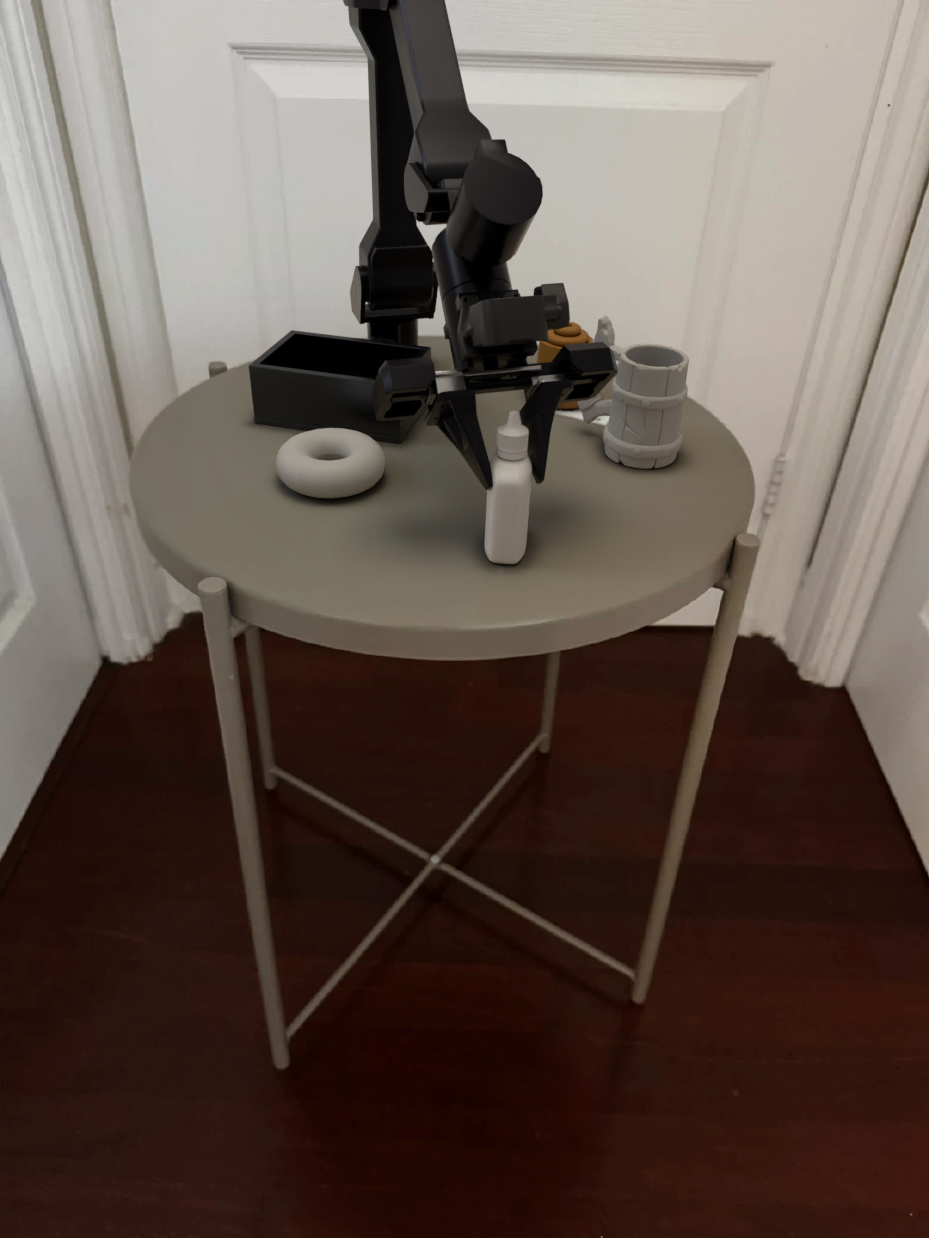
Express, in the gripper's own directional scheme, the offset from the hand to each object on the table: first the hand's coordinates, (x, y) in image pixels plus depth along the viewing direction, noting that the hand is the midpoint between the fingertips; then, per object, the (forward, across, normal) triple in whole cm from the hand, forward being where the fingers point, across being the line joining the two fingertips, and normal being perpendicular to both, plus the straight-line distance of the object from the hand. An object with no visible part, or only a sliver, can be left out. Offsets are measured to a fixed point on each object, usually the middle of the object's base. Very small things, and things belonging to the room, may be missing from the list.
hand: (514, 485), depth 73 cm
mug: (-7, +18, +16) cm, 25 cm away
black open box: (-17, -8, +26) cm, 32 cm away
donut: (-7, -12, +17) cm, 22 cm away
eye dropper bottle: (+4, 0, +6) cm, 7 cm away
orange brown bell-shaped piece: (-16, +16, +25) cm, 34 cm away
